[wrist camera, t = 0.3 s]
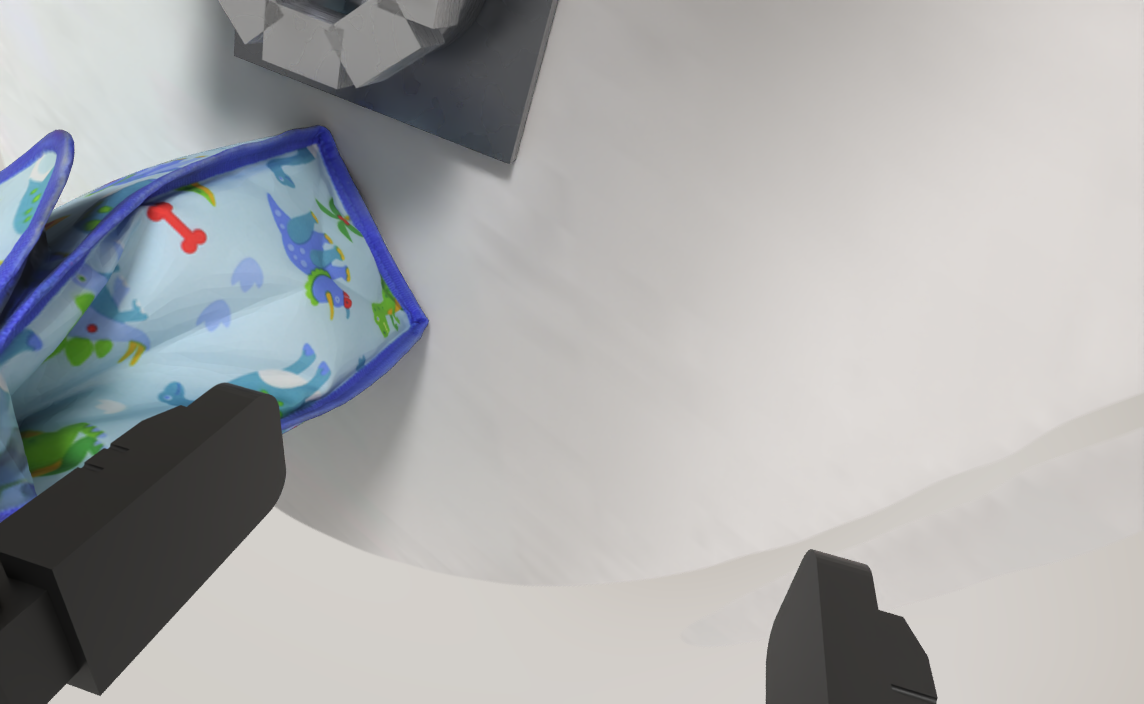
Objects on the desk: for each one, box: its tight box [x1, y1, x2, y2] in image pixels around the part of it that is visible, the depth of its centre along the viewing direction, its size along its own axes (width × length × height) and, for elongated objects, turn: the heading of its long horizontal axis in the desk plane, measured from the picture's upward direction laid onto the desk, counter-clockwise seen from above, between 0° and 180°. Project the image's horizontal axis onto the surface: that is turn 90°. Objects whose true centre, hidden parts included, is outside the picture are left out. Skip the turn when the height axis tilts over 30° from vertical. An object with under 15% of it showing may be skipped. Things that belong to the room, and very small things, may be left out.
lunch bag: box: [0, 125, 429, 522], centre depth 33 cm, size 22×17×26 cm
